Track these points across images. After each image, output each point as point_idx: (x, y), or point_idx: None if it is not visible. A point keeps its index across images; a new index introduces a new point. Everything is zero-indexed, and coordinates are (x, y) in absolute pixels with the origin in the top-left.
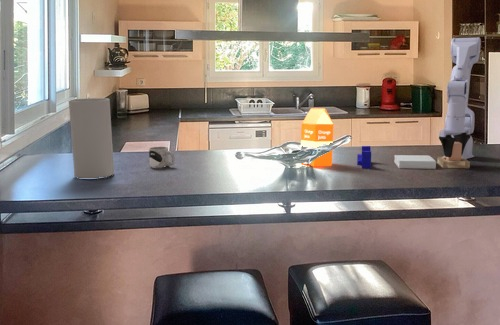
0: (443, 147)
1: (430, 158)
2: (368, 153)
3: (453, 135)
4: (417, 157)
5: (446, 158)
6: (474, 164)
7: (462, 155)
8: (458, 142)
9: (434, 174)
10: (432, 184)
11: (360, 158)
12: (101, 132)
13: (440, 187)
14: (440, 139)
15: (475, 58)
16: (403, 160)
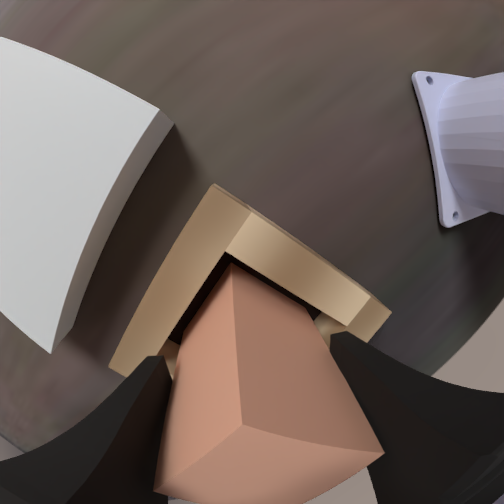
0: (98, 416)
1: (61, 253)
2: None
3: (474, 455)
4: (13, 158)
5: (219, 301)
6: (386, 343)
7: (475, 204)
8: (334, 479)
9: (28, 388)
10: (4, 428)
11: None
12: None
13: (15, 446)
14: (18, 472)
15: None
16: None
